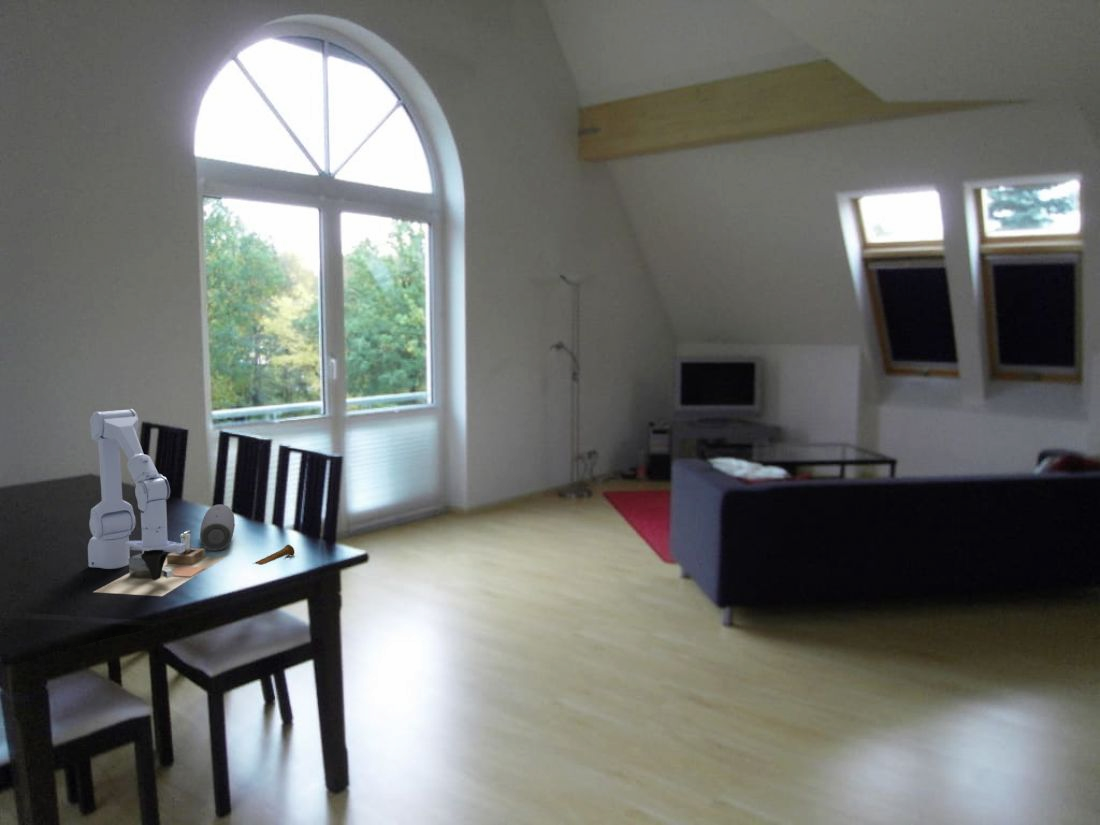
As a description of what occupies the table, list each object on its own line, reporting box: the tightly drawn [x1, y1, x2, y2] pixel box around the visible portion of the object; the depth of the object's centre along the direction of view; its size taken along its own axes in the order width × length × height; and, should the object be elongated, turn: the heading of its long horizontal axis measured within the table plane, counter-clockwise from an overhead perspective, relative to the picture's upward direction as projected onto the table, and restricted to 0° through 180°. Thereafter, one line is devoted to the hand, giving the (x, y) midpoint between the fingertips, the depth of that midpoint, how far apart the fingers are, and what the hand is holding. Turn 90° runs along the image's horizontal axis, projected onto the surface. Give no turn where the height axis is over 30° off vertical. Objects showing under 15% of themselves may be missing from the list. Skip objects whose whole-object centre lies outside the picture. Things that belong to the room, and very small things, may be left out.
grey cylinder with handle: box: [128, 550, 173, 578], centre depth 204 cm, size 17×8×6 cm, turn 51°
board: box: [93, 556, 225, 597], centre depth 208 cm, size 18×30×1 cm, turn 174°
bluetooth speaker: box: [199, 503, 236, 552], centre depth 237 cm, size 23×9×10 cm, turn 20°
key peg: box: [179, 530, 192, 554], centre depth 218 cm, size 2×4×8 cm, turn 174°
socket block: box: [167, 547, 206, 565], centre depth 219 cm, size 7×7×2 cm
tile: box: [173, 566, 205, 577], centre depth 209 cm, size 7×7×1 cm
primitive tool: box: [252, 544, 295, 566], centre depth 221 cm, size 19×6×4 cm, turn 159°
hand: (156, 578), depth 198 cm, fingers closed
